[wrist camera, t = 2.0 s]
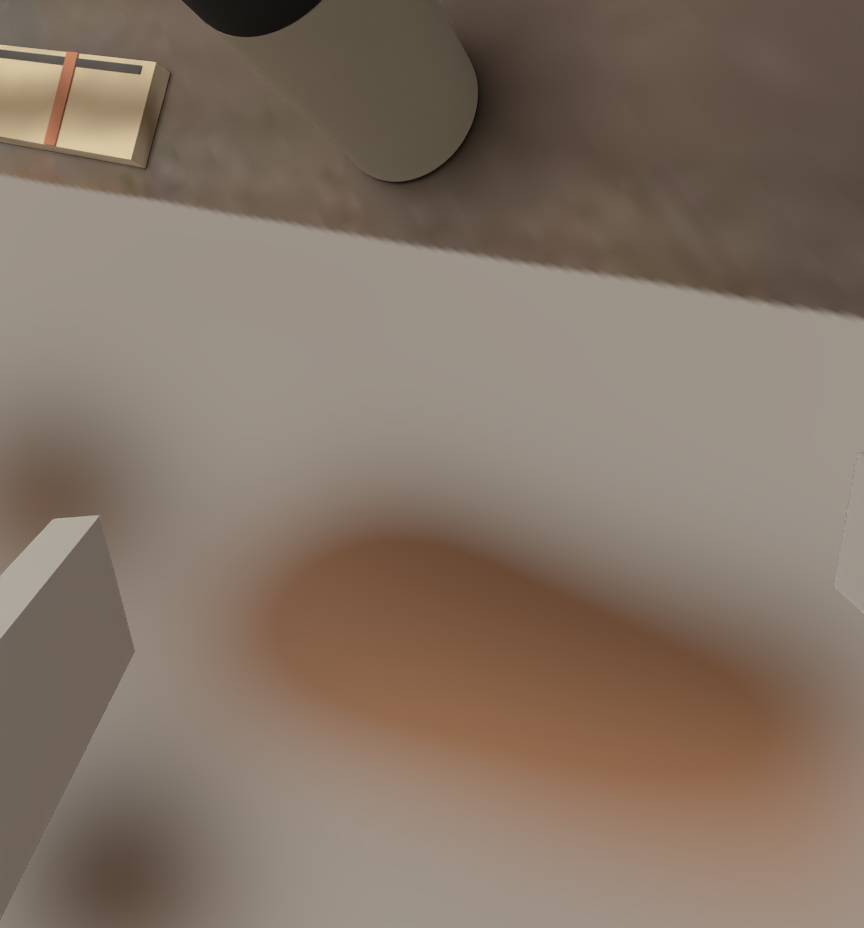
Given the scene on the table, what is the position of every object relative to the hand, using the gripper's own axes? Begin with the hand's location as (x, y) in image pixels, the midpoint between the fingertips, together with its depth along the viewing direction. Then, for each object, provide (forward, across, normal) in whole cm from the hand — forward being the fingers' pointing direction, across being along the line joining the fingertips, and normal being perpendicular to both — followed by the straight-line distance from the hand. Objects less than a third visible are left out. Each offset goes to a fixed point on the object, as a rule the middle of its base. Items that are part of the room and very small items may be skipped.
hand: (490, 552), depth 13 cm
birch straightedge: (+47, -27, +13) cm, 56 cm away
